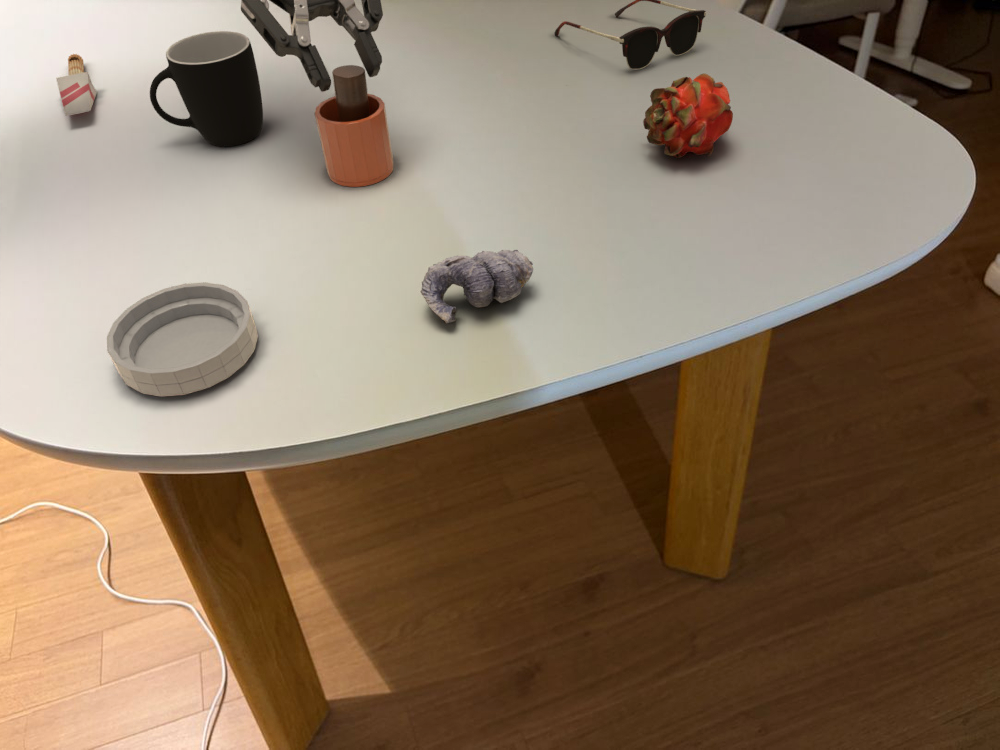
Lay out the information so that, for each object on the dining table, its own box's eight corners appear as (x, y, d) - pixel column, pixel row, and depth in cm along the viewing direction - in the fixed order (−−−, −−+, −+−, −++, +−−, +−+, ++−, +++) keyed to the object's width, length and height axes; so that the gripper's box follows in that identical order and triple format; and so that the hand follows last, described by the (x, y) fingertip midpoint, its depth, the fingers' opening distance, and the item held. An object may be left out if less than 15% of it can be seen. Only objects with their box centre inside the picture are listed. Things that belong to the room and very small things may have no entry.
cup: (325, 189, 83) (310, 126, 78) (331, 155, 88) (318, 94, 84) (392, 184, 83) (382, 121, 78) (394, 151, 88) (385, 90, 84)
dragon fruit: (647, 186, 84) (697, 153, 91) (717, 157, 77) (765, 125, 85) (614, 109, 82) (668, 82, 90) (683, 73, 76) (735, 48, 83)
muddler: (356, 174, 84) (344, 79, 77) (339, 164, 86) (325, 70, 79) (381, 164, 85) (371, 71, 79) (363, 154, 87) (352, 62, 80)
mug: (267, 110, 97) (244, 25, 90) (278, 142, 91) (255, 54, 84) (165, 130, 95) (134, 44, 88) (170, 165, 89) (136, 75, 82)
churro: (54, 105, 94) (57, 52, 108) (64, 127, 96) (66, 73, 110) (89, 98, 95) (87, 47, 109) (98, 120, 97) (95, 67, 111)
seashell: (431, 335, 68) (533, 298, 71) (445, 318, 62) (554, 279, 66) (406, 278, 68) (509, 244, 71) (418, 256, 63) (528, 220, 66)
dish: (103, 405, 62) (87, 377, 59) (141, 315, 69) (129, 287, 67) (246, 395, 62) (235, 367, 60) (268, 305, 70) (259, 278, 67)
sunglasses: (621, 76, 99) (622, 35, 96) (546, 45, 110) (544, 7, 107) (703, 48, 104) (707, 7, 101) (624, 20, 115) (624, -17, 112)
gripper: (202, -97, 70) (286, 83, 71) (349, -126, 76) (426, 42, 76) (201, -46, 77) (278, 117, 78) (336, -76, 83) (407, 77, 83)
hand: (351, 79), depth 77 cm, fingers open, 4 cm apart
